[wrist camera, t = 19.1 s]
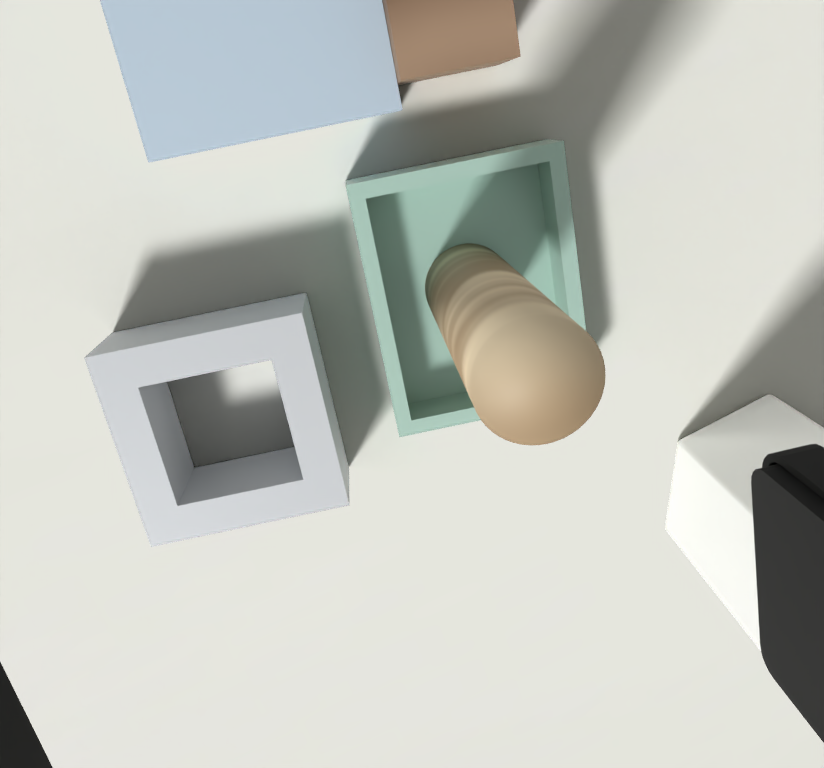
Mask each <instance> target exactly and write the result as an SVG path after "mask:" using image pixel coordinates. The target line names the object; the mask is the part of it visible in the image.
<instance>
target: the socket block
mask: <svg viewBox="0 0 824 768" xmlns="http://www.w3.org/2000/svg"><path fill="white" fill-rule="evenodd" d="M269 360H272V363H273V367H274V371H275V375H276V378H277V382H278V386H279V390H280V394H281V397H282V401H283V405H284V409H285V412H286V416H287V420H288V424H289V427H290V431H291V435H292V439H293V442H294V446H295V447H291V448H286V449H281V450H277V451H272V452H267V453H262V454H258V455H253V456H248V457H243V458H238V459H234V460H229V461H224V462H219V463H215V464H210V465H205V466H200V467H196V468H194V465H193V462H192V459H191V456H190V453H189V450H188V446H187V443H186V440H185V437H184V434H183V431H182V428H181V425H180V421H179V418H178V415H177V412H176V409H175V406H174V403H173V399H172V396H171V393H170V390H169V387H168V384H167V382H168V381H172V380H177V379H182V378H187V377H192V376H197V375H201V374H206V373H211V372H216V371H221V370H225V369H230V368H235V367H240V366H245V365H250V364H254V363H259V362H264V361H269ZM85 361H86V364H87V367H88V370H89V373H90V375H91V378H92V381H93V384H94V387H95V390H96V392H97V395H98V398H99V401H100V404H101V407H102V409H103V412H104V415H105V418H106V421H107V424H108V426H109V429H110V432H111V435H112V438H113V440H114V443H115V446H116V449H117V452H118V455H119V457H120V460H121V463H122V466H123V469H124V472H125V474H126V477H127V480H128V483H129V486H130V489H131V491H132V494H133V497H134V500H135V503H136V506H137V508H138V511H139V514H140V517H141V520H142V523H143V525H144V528H145V531H146V534H147V537H148V539H149V542H150V545H151V547H153V546H158V545H163V544H168V543H172V542H177V541H182V540H187V539H191V538H196V537H201V536H206V535H210V534H215V533H220V532H225V531H229V530H234V529H239V528H243V527H248V526H253V525H258V524H262V523H267V522H272V521H277V520H281V519H286V518H291V517H296V516H300V515H305V514H310V513H315V512H319V511H324V510H329V509H334V508H338V507H343V506H348V505H349V466H348V462H347V457H346V453H345V449H344V445H343V441H342V437H341V433H340V429H339V424H338V420H337V416H336V412H335V408H334V404H333V400H332V396H331V391H330V387H329V383H328V379H327V375H326V371H325V367H324V363H323V358H322V354H321V350H320V346H319V342H318V338H317V334H316V329H315V325H314V321H313V317H312V313H311V309H310V305H309V301H308V296H307V293H302V294H297V295H292V296H287V297H283V298H278V299H273V300H268V301H263V302H258V303H253V304H249V305H244V306H239V307H234V308H229V309H224V310H219V311H215V312H210V313H205V314H200V315H195V316H190V317H186V318H181V319H176V320H171V321H166V322H161V323H156V324H152V325H147V326H142V327H137V328H132V329H127V330H122V331H118V332H113V333H111V334H110V335H109V336H108V337H107V338H106V339H105V340H103V341H102V342H101V343H100V344H99V345H98V346H97V347H96V348H95V349H93V350H92V351H91V352H90V353H89V354H88V355H87V356H86V357H85Z"/></svg>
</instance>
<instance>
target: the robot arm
mask: <svg viewBox="0 0 824 768" xmlns="http://www.w3.org/2000/svg"><path fill="white" fill-rule="evenodd" d="M751 490H752V508H753V526H754V544H755V562H756V580H757V598H758V616H759V634H760V647H761V652H762V656H763V659H764V661H765V664H766V666H767V668H768V670H769V672H770V674H771V675H772V677H773V678H774V679H775V681H776V682H777V683H778V685H779V686H780V687H781V688H782V690H783V691H784V692H785V694H786V695H787V696H788V697H789V699H790V700H791V701H792V703H793V704H794V705H795V706H796V708H797V709H798V710H799V711H800V713H801V714H802V715H803V717H804V718H805V719H806V720H807V722H808V723H809V724H810V726H811V727H812V728H813V729H814V731H815V732H816V733H817V735H818V736H819V737H820V738H821V740H822V741H823V742H824V447H822V446H820V445H818V444H809V445H804V446H800V447H796V448H792V449H787V450H783V451H779V452H775V453H770V454H768V455H767V456H766V457H765V458H764V460H763V463H762V468H759V469H755V470H754V471H753V473H752V476H751ZM0 768H52V766H51V764H50V762H49V760H48V757H47V755H46V753H45V751H44V749H43V747H42V745H41V743H40V741H39V739H38V737H37V735H36V733H35V731H34V729H33V727H32V725H31V723H30V721H29V719H28V717H27V715H26V713H25V711H24V709H23V707H22V705H21V703H20V701H19V699H18V697H17V695H16V693H15V691H14V689H13V687H12V685H11V683H10V681H9V679H8V677H7V675H6V673H5V671H4V669H3V667H2V665H1V663H0Z"/></svg>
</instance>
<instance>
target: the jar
mask: <svg viewBox="0 0 824 768" xmlns="http://www.w3.org/2000/svg"><path fill="white" fill-rule="evenodd" d="M809 444H818V445H820V446H822V447H824V427H822V426H821V425H819V424H818V423H816V422H815V421H813V420H811V419H810V418H808V417H807V416H805V415H804V414H802V413H800V412H799V411H797V410H796V409H794V408H792V407H791V406H789V405H788V404H786V403H785V402H783V401H781V400H780V399H778V398H777V397H775V396H773V395H765V396H764V397H762V398H760V399H758V400H756V401H754V402H752V403H750V404H748V405H746V406H744V407H742V408H741V409H739V410H737V411H735V412H733V413H731V414H729V415H727V416H725V417H723V418H721V419H719V420H717V421H715V422H713V423H711V424H710V425H708V426H706V427H704V428H702V429H700V430H698V431H696V432H694V433H692V434H690V435H688V436H686V437H684V438H682V439H680V440H679V442H678V444H677V450H676V456H675V463H674V470H673V476H672V483H671V490H670V496H669V503H668V510H667V516H666V523H665V529H666V531H667V533H668V534H669V535H670V536H671V538H672V539H673V540H674V541H675V543H676V544H677V545H678V546H679V548H680V549H681V550H682V552H683V553H684V554H685V555H686V557H687V558H688V559H689V560H690V562H691V563H692V564H693V566H694V567H695V568H696V569H697V571H698V572H699V573H700V574H701V576H702V577H703V578H704V580H705V581H706V582H707V583H708V585H709V586H710V587H711V588H712V590H713V591H714V592H715V594H716V595H717V596H718V597H719V599H720V600H721V601H722V602H723V604H724V605H725V606H726V608H727V609H728V610H729V611H730V613H731V614H732V615H733V616H734V618H735V619H736V620H737V622H738V623H739V624H740V625H741V627H742V628H743V629H744V630H745V632H746V633H747V634H748V636H749V637H750V638H751V639H752V641H753V642H754V643H755V644H756V646H757V647H758V648H759V650H760V651H761V647H760V634H759V616H758V598H757V580H756V562H755V544H754V526H753V508H752V490H751V476H752V473H753V471H754V470H755V469H759V468H762V463H763V460H764V458H765V457H766V456H767V455H768V454H770V453H775V452H779V451H783V450H787V449H792V448H796V447H800V446H804V445H809Z"/></svg>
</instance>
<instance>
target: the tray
mask: <svg viewBox="0 0 824 768" xmlns="http://www.w3.org/2000/svg"><path fill="white" fill-rule="evenodd" d="M346 189H347V194H348V199H349V203H350V208H351V213H352V217H353V222H354V227H355V231H356V236H357V241H358V245H359V250H360V255H361V259H362V264H363V269H364V273H365V278H366V283H367V287H368V292H369V297H370V301H371V306H372V311H373V315H374V320H375V325H376V329H377V334H378V339H379V343H380V348H381V353H382V357H383V362H384V367H385V371H386V376H387V381H388V385H389V390H390V395H391V399H392V404H393V409H394V413H395V418H396V423H397V427H398V432H399V437H402V436H407V435H412V434H417V433H422V432H426V431H431V430H436V429H441V428H445V427H450V426H455V425H460V424H464V423H469V422H474V421H479V420H481V419H480V418H479V416H478V414H477V413H476V410H475V408H474V406H473V404H472V402H471V399H470V397H469V395H468V393H467V390H466V388H465V386H464V384H463V381H462V379H461V377H460V375H459V372H458V370H457V368H456V366H455V363H454V361H453V359H452V357H451V354H450V352H449V350H448V348H447V345H446V343H445V341H444V339H443V336H442V334H441V332H440V330H439V327H438V325H437V323H436V321H435V318H434V316H433V314H432V312H431V309H430V307H429V305H428V302H427V299H426V295H425V281H426V276H427V273H428V271H429V268H430V267H431V265H432V263H433V262H434V261H435V259H436V258H437V257H438V256H439V255H440V254H442V253H443V252H444V251H446V250H447V249H449V248H451V247H454V246H456V245H460V244H467V243H472V244H479V245H483V246H485V247H488V248H490V249H491V250H493V251H494V252H496V253H497V254H498V255H499V256H500V257H501V258H503V259H504V260H505V261H506V262H507V263H508V264H510V265H511V266H512V267H513V268H514V269H515V270H516V271H518V272H519V273H520V274H521V275H522V276H523V277H524V278H526V279H527V280H528V281H529V282H530V283H531V284H533V285H534V286H535V287H536V288H537V289H538V290H539V291H541V292H542V293H543V294H544V295H545V296H546V297H547V298H549V299H550V300H551V301H552V302H553V303H554V304H555V305H557V306H558V307H559V308H560V309H561V310H562V311H564V312H565V313H566V314H567V315H568V316H569V317H570V318H572V319H573V320H574V321H575V322H576V323H577V324H578V325H580V326H581V327H582V328H583V329H584V330H585V331H586V325H585V316H584V308H583V299H582V291H581V282H580V274H579V265H578V257H577V248H576V240H575V231H574V223H573V214H572V206H571V197H570V189H569V180H568V172H567V163H566V155H565V146H564V141H562V140H549V139H546V140H541V141H536V142H531V143H526V144H521V145H516V146H511V147H506V148H501V149H497V150H492V151H487V152H482V153H477V154H472V155H467V156H462V157H457V158H452V159H448V160H443V161H438V162H433V163H428V164H423V165H418V166H413V167H408V168H403V169H399V170H394V171H389V172H384V173H379V174H374V175H369V176H364V177H359V178H354V179H350V180H346Z"/></svg>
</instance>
